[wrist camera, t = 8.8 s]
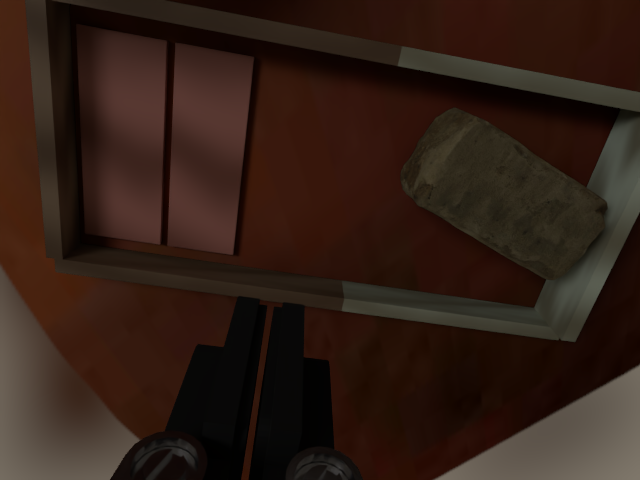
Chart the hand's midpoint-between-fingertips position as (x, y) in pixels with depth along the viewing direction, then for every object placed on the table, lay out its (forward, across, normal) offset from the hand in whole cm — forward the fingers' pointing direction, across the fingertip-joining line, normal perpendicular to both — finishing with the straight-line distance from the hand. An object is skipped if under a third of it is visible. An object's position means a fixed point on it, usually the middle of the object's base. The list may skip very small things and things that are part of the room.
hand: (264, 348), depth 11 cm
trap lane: (+19, -3, +1) cm, 19 cm away
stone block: (+20, -13, 0) cm, 24 cm away
